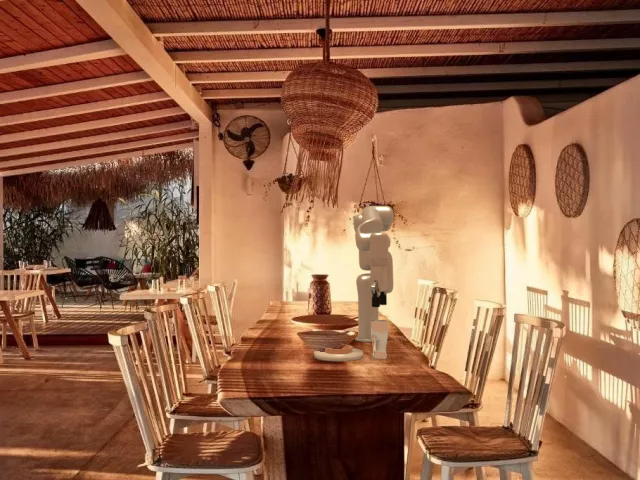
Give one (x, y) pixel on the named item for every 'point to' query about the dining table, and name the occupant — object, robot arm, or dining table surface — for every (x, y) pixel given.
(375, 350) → the beer glass
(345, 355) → the white plate
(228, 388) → the dining table surface
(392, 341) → the dining table surface
